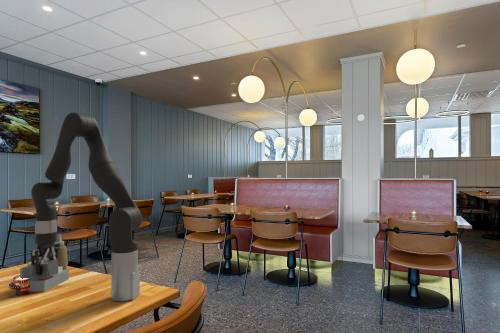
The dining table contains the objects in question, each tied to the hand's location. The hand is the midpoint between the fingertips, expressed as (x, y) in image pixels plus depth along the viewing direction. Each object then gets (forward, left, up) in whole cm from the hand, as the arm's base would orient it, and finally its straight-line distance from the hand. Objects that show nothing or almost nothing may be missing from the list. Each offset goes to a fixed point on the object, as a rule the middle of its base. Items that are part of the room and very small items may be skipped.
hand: (45, 272), depth 127 cm
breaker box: (+2, -3, -6) cm, 7 cm away
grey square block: (0, 0, -1) cm, 1 cm away
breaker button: (0, 0, -5) cm, 5 cm away
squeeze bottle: (+8, -20, -6) cm, 22 cm away
